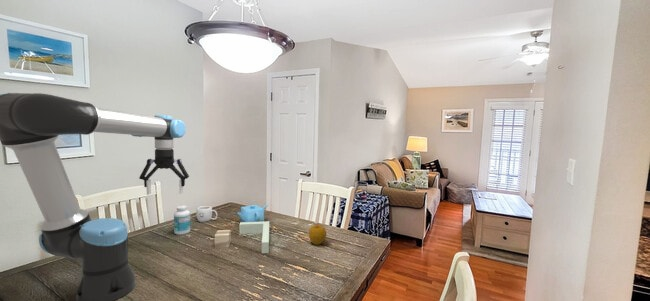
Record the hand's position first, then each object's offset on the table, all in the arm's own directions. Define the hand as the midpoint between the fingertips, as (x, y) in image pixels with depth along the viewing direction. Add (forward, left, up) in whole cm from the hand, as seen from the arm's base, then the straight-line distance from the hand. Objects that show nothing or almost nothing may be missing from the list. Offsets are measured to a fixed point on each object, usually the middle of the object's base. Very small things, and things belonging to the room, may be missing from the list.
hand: (165, 193), depth 126 cm
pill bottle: (+9, -5, -23) cm, 25 cm away
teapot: (+15, -40, -23) cm, 48 cm away
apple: (-13, -71, -23) cm, 76 cm away
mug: (+25, -13, -23) cm, 36 cm away
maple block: (-9, -27, -23) cm, 37 cm away
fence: (-7, -41, -23) cm, 47 cm away
